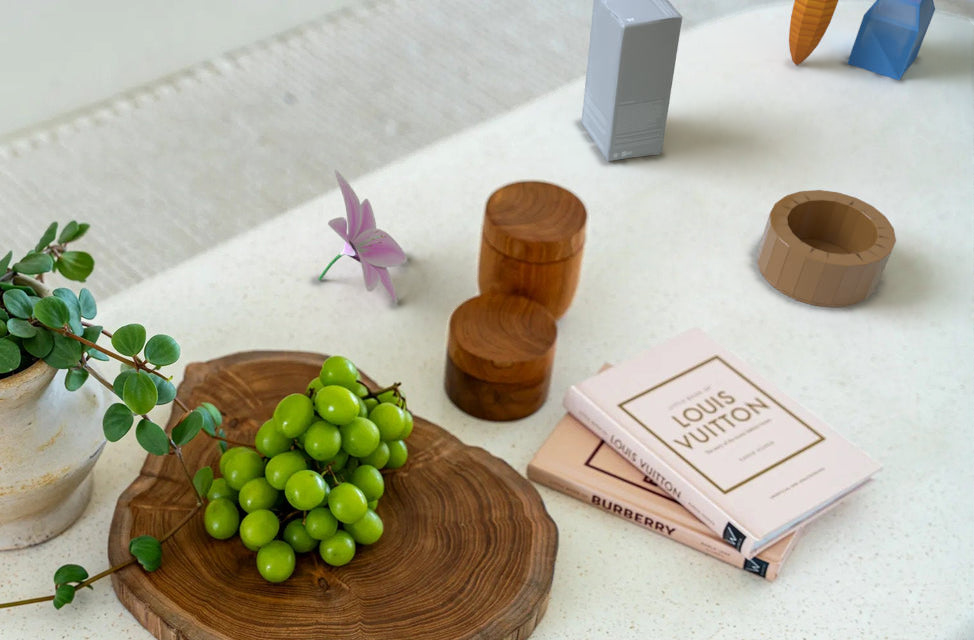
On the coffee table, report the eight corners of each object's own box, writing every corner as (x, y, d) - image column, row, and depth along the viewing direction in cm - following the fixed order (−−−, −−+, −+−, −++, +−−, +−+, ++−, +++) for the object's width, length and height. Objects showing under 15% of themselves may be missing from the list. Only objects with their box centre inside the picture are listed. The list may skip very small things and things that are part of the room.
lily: (351, 351, 103) (407, 275, 97) (253, 266, 104) (303, 186, 98) (404, 306, 113) (457, 234, 107) (314, 229, 113) (362, 154, 108)
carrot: (766, 64, 135) (802, -60, 124) (787, 48, 138) (824, -75, 127) (805, 80, 133) (845, -46, 122) (825, 63, 135) (866, -61, 125)
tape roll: (871, 239, 113) (888, 198, 109) (883, 314, 105) (902, 272, 102) (755, 224, 114) (768, 183, 111) (758, 297, 107) (772, 256, 103)
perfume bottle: (865, 42, 139) (899, -55, 130) (916, 58, 137) (954, -40, 128) (847, 63, 136) (880, -35, 127) (899, 80, 133) (937, -19, 124)
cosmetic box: (662, 156, 122) (693, 18, 111) (598, 164, 121) (624, 25, 110) (632, 113, 128) (660, -23, 116) (572, 120, 127) (593, -16, 115)
